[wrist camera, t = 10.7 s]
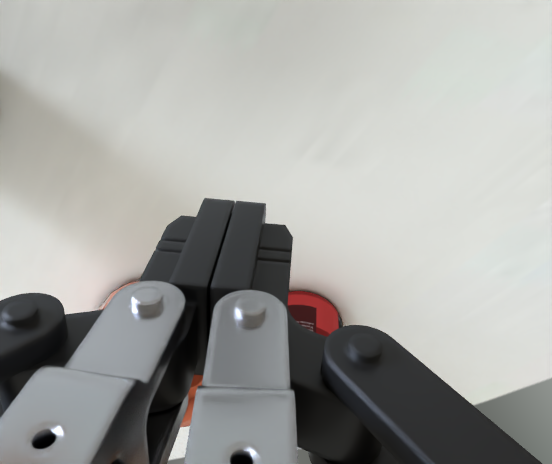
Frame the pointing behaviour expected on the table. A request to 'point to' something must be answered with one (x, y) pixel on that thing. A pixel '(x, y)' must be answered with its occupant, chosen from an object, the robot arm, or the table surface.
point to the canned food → (313, 313)
